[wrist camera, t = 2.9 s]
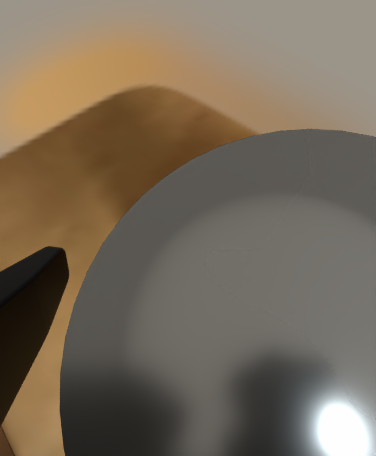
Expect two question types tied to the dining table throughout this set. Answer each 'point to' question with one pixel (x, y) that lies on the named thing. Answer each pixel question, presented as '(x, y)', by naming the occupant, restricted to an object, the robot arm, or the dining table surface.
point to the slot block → (4, 445)
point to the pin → (234, 309)
